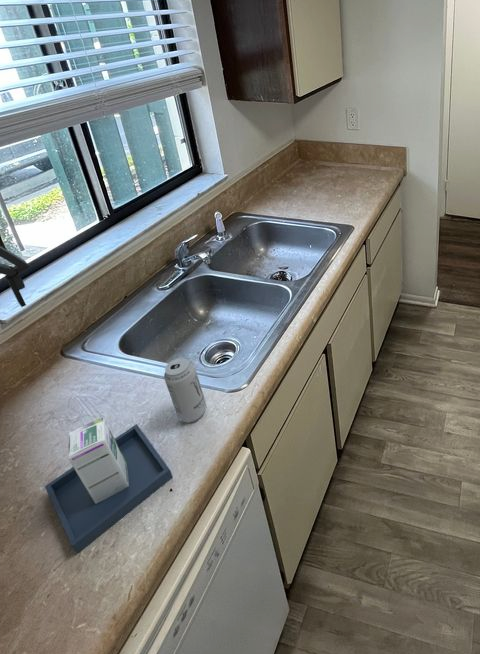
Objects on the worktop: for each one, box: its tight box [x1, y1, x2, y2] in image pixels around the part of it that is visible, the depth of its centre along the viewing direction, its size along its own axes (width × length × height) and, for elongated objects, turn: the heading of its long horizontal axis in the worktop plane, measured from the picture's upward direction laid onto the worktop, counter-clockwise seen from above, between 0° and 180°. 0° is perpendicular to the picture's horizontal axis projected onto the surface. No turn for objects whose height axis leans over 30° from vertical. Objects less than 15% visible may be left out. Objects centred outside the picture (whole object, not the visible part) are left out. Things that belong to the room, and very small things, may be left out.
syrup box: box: [67, 417, 129, 504], centre depth 82 cm, size 6×6×14 cm
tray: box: [44, 424, 173, 555], centre depth 85 cm, size 16×17×3 cm
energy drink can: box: [163, 356, 207, 424], centre depth 97 cm, size 6×6×15 cm
